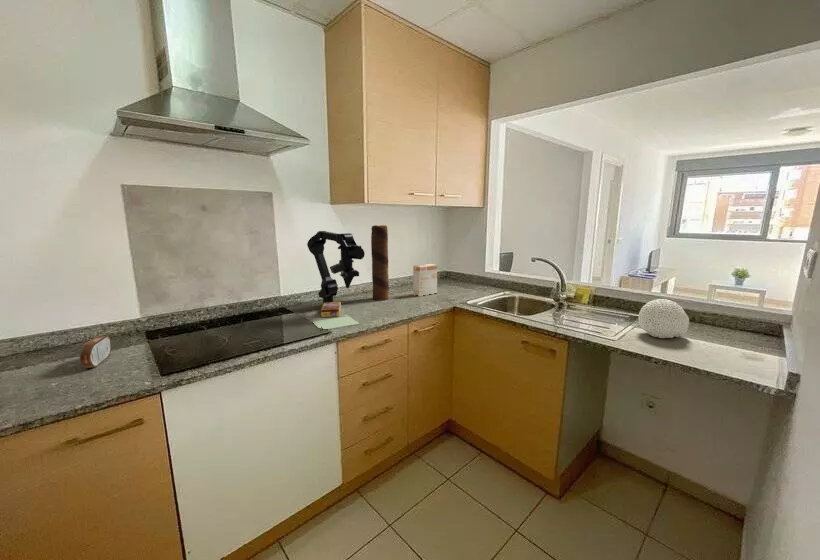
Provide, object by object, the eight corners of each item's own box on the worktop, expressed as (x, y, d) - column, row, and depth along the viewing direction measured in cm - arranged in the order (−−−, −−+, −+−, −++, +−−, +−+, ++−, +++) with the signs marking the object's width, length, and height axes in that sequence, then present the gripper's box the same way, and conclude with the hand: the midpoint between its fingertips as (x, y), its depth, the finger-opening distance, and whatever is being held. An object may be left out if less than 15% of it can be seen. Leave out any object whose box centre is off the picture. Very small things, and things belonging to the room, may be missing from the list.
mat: (312, 322, 154) (312, 321, 154) (348, 316, 163) (348, 316, 163) (321, 330, 143) (321, 330, 142) (359, 324, 152) (359, 323, 152)
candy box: (320, 308, 162) (324, 302, 177) (321, 317, 163) (324, 309, 177) (339, 308, 163) (340, 301, 178) (339, 316, 164) (341, 309, 179)
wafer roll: (375, 301, 195) (374, 225, 187) (370, 297, 204) (368, 225, 196) (391, 300, 199) (391, 225, 191) (385, 296, 208) (385, 225, 201)
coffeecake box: (430, 292, 222) (431, 263, 219) (437, 294, 216) (437, 264, 213) (412, 294, 214) (412, 265, 210) (419, 296, 208) (419, 266, 205)
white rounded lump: (687, 327, 122) (672, 288, 130) (635, 337, 134) (624, 301, 142) (702, 340, 133) (687, 304, 141) (653, 349, 145) (642, 315, 153)
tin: (103, 355, 116) (99, 332, 115) (114, 353, 117) (111, 331, 116) (80, 373, 102) (75, 347, 101) (93, 371, 104) (89, 346, 102)
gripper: (325, 257, 171) (326, 286, 174) (337, 260, 155) (338, 293, 158) (345, 256, 177) (346, 284, 179) (359, 259, 161) (360, 290, 164)
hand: (347, 288), depth 170 cm, fingers closed
